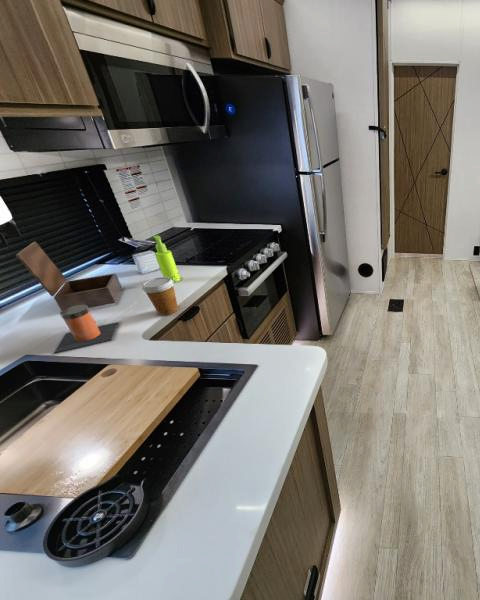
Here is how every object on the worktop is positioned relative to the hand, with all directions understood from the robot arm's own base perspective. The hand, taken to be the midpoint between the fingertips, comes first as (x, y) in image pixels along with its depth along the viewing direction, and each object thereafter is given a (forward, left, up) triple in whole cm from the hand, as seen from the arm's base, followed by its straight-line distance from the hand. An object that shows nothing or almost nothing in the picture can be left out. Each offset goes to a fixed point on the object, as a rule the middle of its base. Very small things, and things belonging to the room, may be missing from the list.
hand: (8, 241), depth 107 cm
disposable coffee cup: (+37, -17, -29) cm, 50 cm away
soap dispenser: (+37, +15, -29) cm, 49 cm away
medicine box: (+27, +33, -29) cm, 51 cm away
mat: (+15, -24, -28) cm, 40 cm away
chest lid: (+2, +7, -12) cm, 14 cm away
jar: (+15, -24, -28) cm, 40 cm away
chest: (+11, +7, -28) cm, 31 cm away
